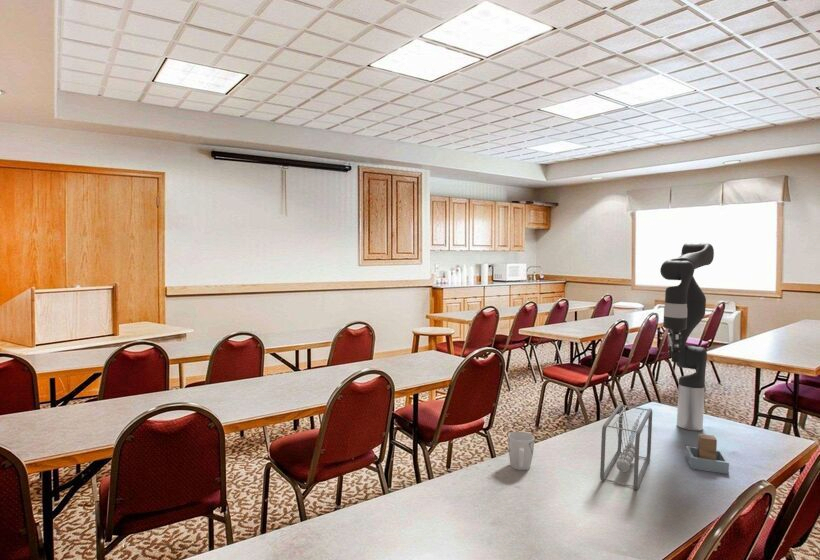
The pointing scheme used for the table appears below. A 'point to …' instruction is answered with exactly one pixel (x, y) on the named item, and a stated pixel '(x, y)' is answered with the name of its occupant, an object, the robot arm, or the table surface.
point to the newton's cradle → (627, 446)
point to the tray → (707, 461)
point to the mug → (520, 449)
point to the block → (707, 446)
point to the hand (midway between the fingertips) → (673, 359)
